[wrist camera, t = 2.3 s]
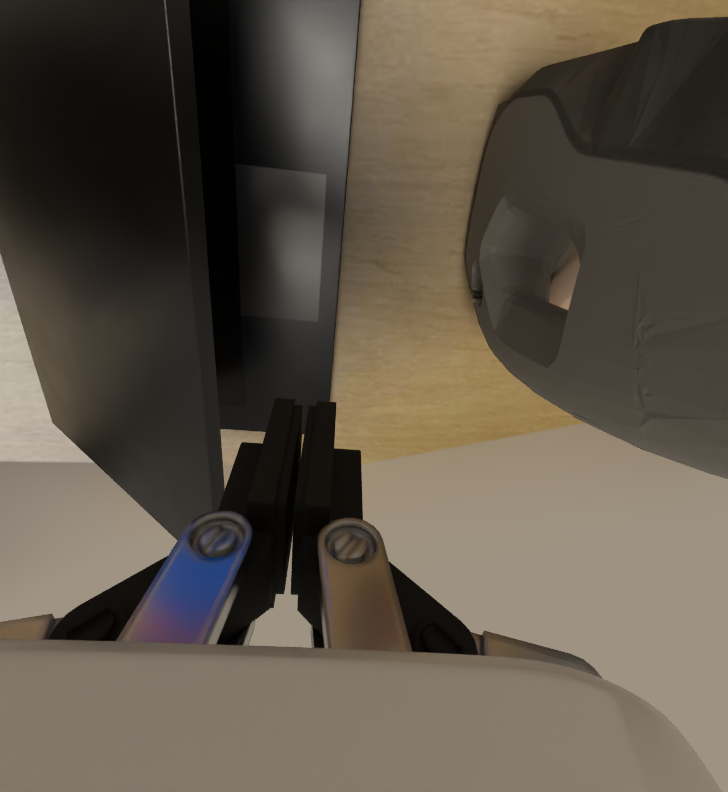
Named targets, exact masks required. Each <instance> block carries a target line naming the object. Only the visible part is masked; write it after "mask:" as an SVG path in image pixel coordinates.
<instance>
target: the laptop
mask: <svg viewBox="0 0 728 792" xmlns="http://www.w3.org/2000/svg"><path fill="white" fill-rule="evenodd" d="M360 6H361V0H189V11H190V25H191V39H192V52H193V66H194V80H195V93H196V107H197V121H198V134H199V148H200V161H201V175H202V189H203V202H204V216H205V230H206V243H207V257H208V271H209V284H210V298H211V311H212V325H213V339H214V352H215V366H216V380H217V393H218V407H219V421H220V429H232V430H248V431H263V432H266V430H267V426H268V423H269V419H270V416H271V412H272V408H273V405H274V401H275V398H286V399H296V405H303V418H302V434H305V428H306V421H307V415H308V408H309V405H310V406H316V405H317V401H325V402H329V401H330V388H331V376H332V363H333V350H334V337H335V325H336V312H337V299H338V286H339V274H340V261H341V248H342V235H343V223H344V210H345V197H346V184H347V172H348V159H349V146H350V133H351V121H352V108H353V95H354V82H355V70H356V57H357V44H358V31H359V19H360Z"/></svg>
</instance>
